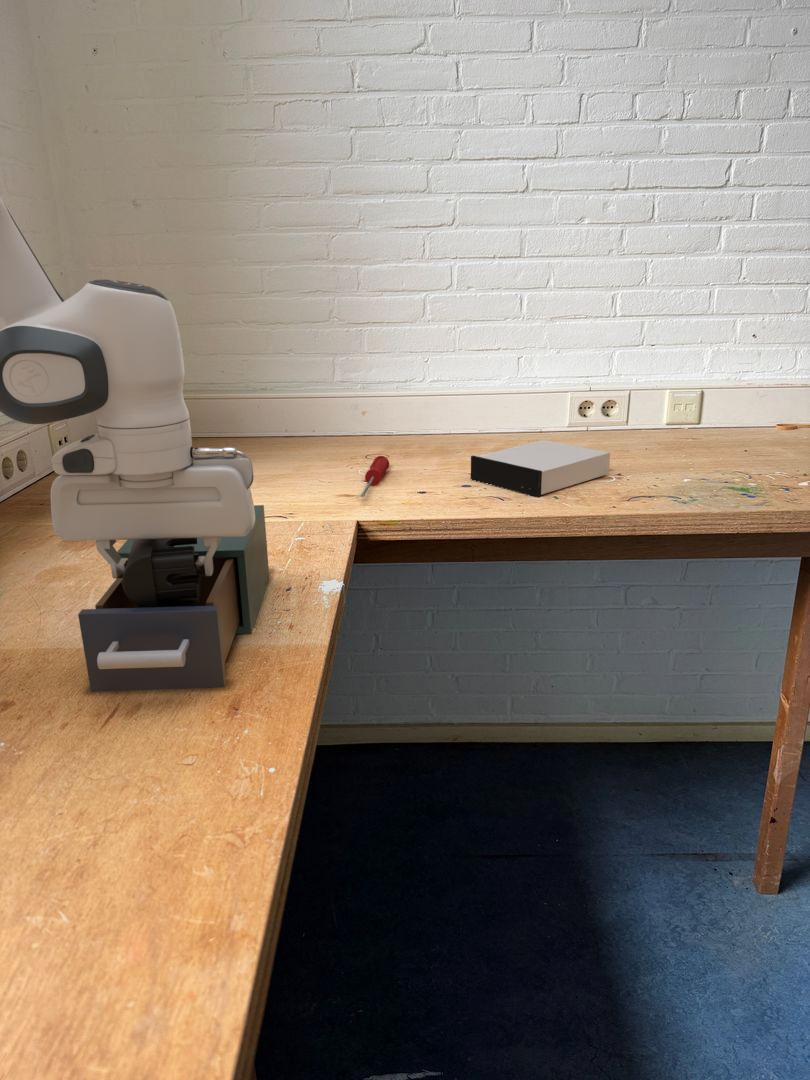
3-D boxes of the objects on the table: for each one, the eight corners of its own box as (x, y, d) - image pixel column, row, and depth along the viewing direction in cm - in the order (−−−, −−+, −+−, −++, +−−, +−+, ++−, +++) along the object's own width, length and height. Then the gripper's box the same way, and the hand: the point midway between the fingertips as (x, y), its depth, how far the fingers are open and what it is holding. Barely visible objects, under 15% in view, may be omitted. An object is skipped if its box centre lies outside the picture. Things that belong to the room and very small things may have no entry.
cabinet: (251, 633, 96) (244, 549, 93) (127, 637, 96) (115, 553, 92) (269, 577, 113) (263, 505, 109) (164, 580, 113) (155, 507, 109)
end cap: (136, 582, 90) (129, 525, 88) (201, 577, 91) (195, 521, 89) (126, 619, 81) (118, 557, 78) (198, 612, 82) (192, 551, 80)
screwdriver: (352, 505, 145) (352, 487, 144) (373, 470, 169) (373, 454, 168) (371, 506, 145) (371, 487, 144) (390, 471, 168) (389, 454, 167)
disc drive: (470, 479, 161) (470, 455, 159) (541, 460, 175) (542, 438, 173) (538, 497, 148) (539, 471, 147) (609, 475, 162) (611, 451, 161)
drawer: (216, 711, 78) (207, 629, 75) (76, 716, 78) (61, 633, 75) (248, 620, 98) (242, 551, 95) (136, 623, 97) (126, 554, 94)
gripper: (255, 439, 84) (264, 562, 88) (58, 443, 83) (78, 567, 88) (246, 453, 78) (257, 584, 83) (34, 458, 77) (56, 589, 82)
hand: (163, 575), depth 85 cm, fingers closed on end cap, 7 cm apart
